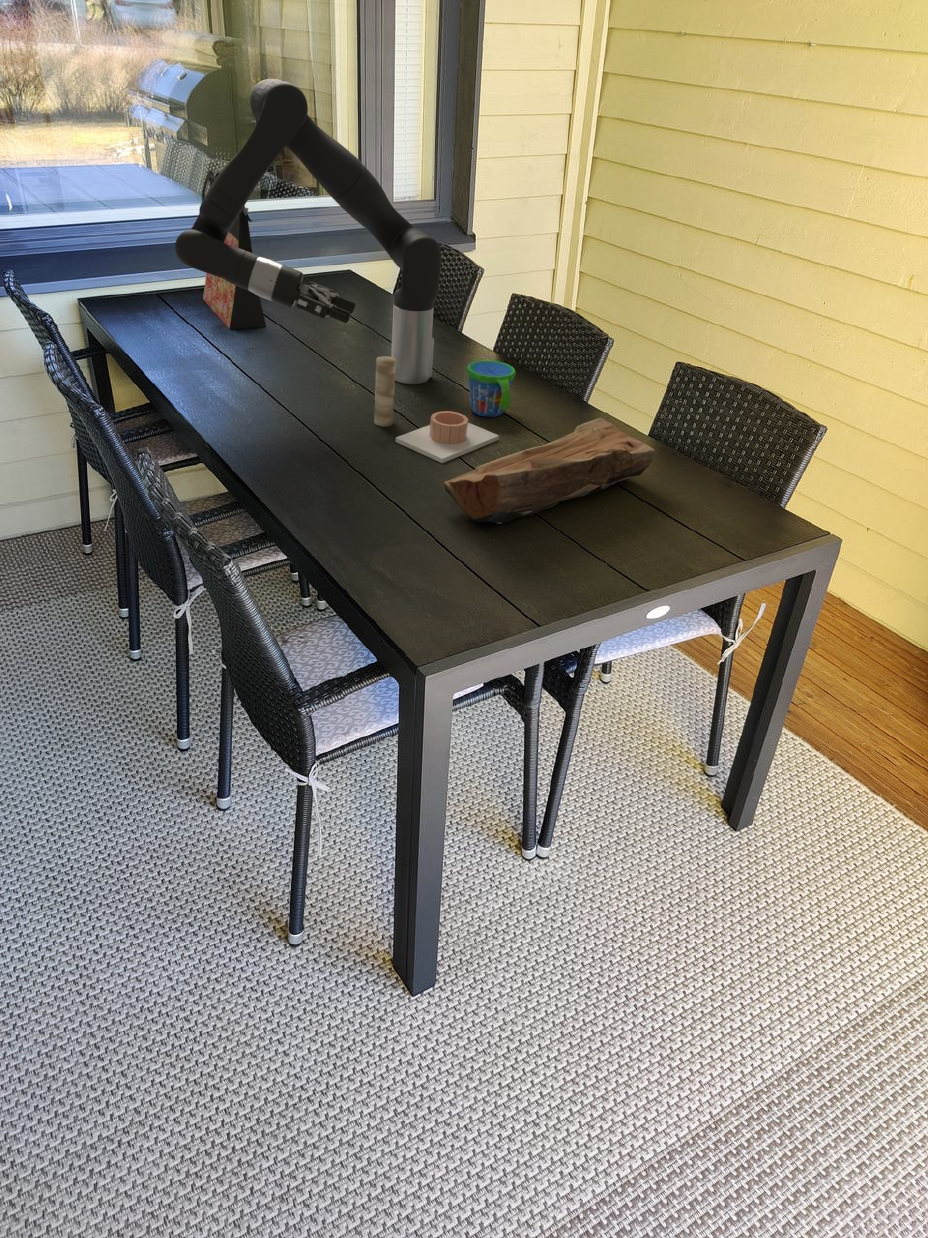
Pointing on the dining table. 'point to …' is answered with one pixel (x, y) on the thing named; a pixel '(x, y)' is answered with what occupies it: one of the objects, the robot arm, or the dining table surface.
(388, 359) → the ash dowel
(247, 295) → the gift bag
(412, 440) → the stand board
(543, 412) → the dining table surface
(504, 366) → the snack cup
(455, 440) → the ring
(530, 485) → the log
